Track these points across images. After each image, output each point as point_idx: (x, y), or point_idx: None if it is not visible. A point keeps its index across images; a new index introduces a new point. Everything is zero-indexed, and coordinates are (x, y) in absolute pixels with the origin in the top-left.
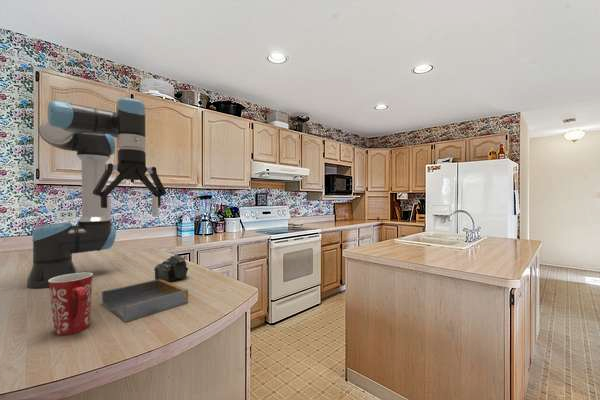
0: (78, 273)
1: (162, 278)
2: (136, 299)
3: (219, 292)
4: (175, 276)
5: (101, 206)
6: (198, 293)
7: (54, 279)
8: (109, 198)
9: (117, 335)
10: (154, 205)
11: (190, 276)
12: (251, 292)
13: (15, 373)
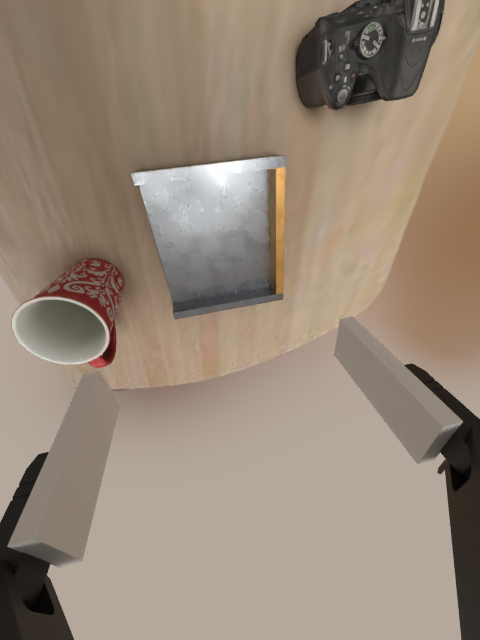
0: (69, 301)
1: (308, 98)
2: (206, 223)
3: (338, 274)
4: (345, 104)
5: (38, 473)
6: (313, 253)
7: (20, 316)
8: (77, 547)
9: (162, 338)
10: (376, 393)
11: None
12: (363, 307)
13: (66, 364)
